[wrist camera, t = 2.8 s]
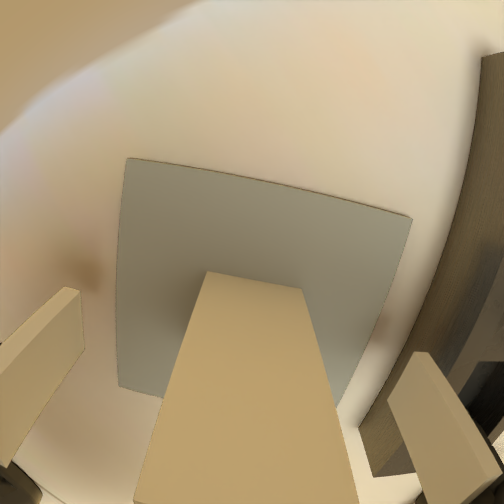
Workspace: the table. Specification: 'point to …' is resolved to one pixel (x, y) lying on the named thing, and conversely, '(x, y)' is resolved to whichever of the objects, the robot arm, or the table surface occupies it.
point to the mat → (244, 262)
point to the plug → (247, 406)
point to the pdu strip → (461, 295)
